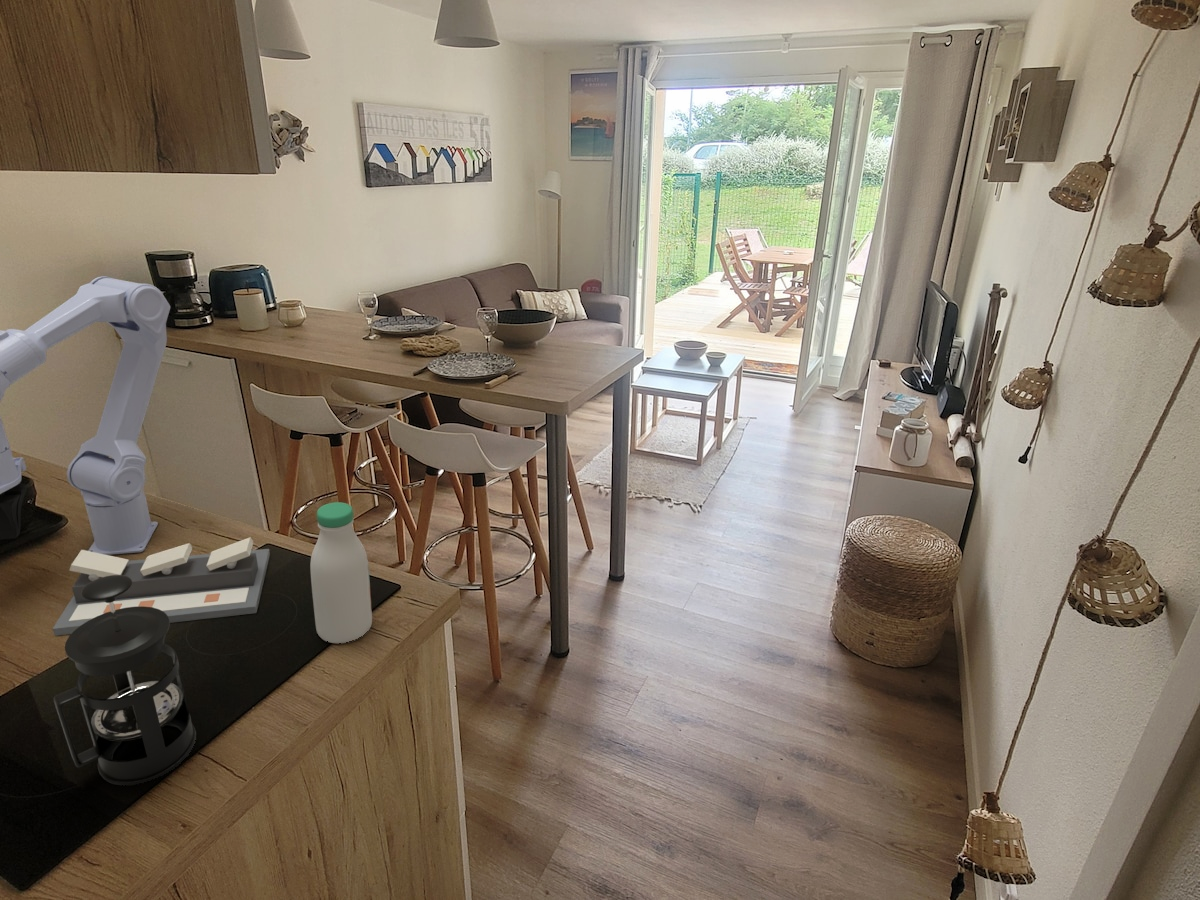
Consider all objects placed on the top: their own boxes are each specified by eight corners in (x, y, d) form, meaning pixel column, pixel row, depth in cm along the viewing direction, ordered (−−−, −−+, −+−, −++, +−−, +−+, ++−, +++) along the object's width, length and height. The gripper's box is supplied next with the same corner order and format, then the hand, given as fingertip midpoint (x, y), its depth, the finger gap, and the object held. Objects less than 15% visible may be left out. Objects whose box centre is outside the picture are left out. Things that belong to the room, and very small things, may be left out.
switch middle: (154, 566, 101) (147, 555, 100) (195, 553, 102) (189, 543, 101) (146, 581, 98) (140, 570, 97) (189, 567, 99) (183, 557, 98)
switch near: (78, 560, 97) (81, 549, 97) (125, 570, 100) (128, 559, 100) (67, 576, 94) (71, 564, 94) (116, 585, 97) (120, 574, 96)
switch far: (218, 561, 104) (211, 551, 103) (256, 546, 105) (250, 537, 104) (213, 575, 101) (206, 565, 100) (252, 560, 102) (246, 550, 101)
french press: (186, 703, 82) (152, 546, 73) (215, 749, 77) (182, 584, 67) (69, 757, 74) (14, 587, 65) (92, 812, 69) (36, 635, 59)
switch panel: (95, 570, 105) (89, 548, 103) (269, 554, 112) (267, 534, 111) (54, 635, 91) (47, 612, 89) (256, 613, 99) (253, 590, 97)
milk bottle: (374, 639, 96) (366, 519, 88) (316, 649, 93) (303, 526, 85) (370, 607, 102) (363, 493, 94) (316, 616, 99) (303, 498, 91)
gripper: (-28, 431, 95) (-1, 513, 100) (-87, 475, 82) (-53, 567, 88) (32, 429, 97) (55, 510, 102) (-17, 472, 84) (12, 562, 90)
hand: (9, 536), depth 95 cm, fingers closed
